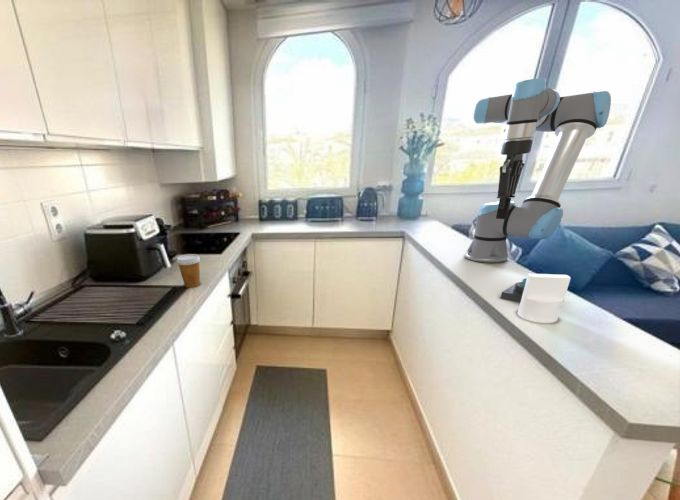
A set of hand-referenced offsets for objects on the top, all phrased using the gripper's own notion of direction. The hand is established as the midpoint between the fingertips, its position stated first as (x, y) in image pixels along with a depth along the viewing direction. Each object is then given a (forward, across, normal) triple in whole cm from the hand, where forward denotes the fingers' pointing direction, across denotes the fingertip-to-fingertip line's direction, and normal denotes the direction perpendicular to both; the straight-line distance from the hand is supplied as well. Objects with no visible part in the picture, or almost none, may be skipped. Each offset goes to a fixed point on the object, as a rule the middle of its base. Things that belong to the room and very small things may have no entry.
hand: (501, 218), depth 115 cm
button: (+18, +8, +14) cm, 25 cm away
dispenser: (+22, +8, +14) cm, 28 cm away
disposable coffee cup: (+22, +78, -82) cm, 115 cm away
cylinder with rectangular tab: (+22, +22, +21) cm, 37 cm away
